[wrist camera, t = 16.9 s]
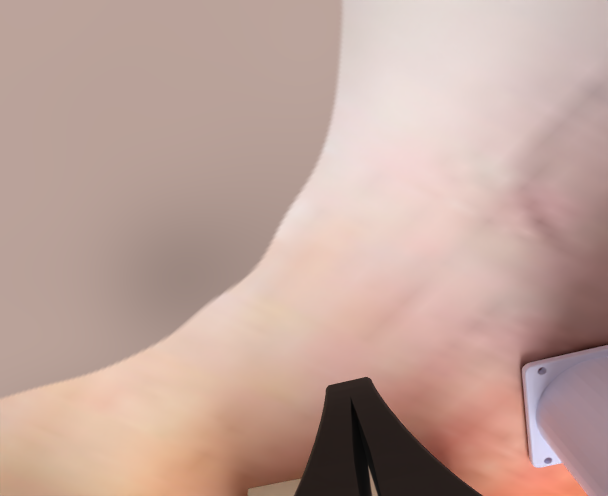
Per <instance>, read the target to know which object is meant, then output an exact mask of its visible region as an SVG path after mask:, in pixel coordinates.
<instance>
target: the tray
mask: <svg viewBox="0 0 608 496" xmlns="http://www.w3.org/2000/svg"><path fill="white" fill-rule="evenodd" d="M368 468H369V466H368ZM369 475H370V483H371V491H372V496H378V495H377V491H376V488H375V485H374V482H373V479H372V476H371V473H370V470H369ZM300 481H301V479H295V480H290V481H285V482H280V483H275V484H270V485H265V486H260V487H255V488H249V489H248V495H247V496H294V494H295V492H296V490H297V487H298V485H299V483H300Z"/></svg>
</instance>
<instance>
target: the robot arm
mask: <svg viewBox="0 0 608 496" xmlns="http://www.w3.org/2000/svg"><path fill="white" fill-rule="evenodd" d="M541 367H542V369H541V370H539V368H541ZM538 370H539V371H538ZM522 378H523V390H524V401H525V413H526V424H527V436H528V447H529V459H530V462H531V463H532V465H533V466H534V467H537V468H540V467H545V466H550V465H555V464H560V463H563V464H564V466H565V467H566V468H567V469H568V471H569V472H570V473H571V475H572V476H573V477H574V478H575V480H576V481H577V482H578V483H579V485H580V486H581V487H582V488H583V490H584V491H585V492H586V494H587V495H588V496H608V345H605V346H601V347H596V348H592V349H587V350H583V351H578V352H574V353H570V354H565V355H561V356H556V357H552V358H547V359H543V360H538V361H534V362H530V363H527V364H526V365H524V366H523V368H522ZM368 466H369V468H368ZM369 470H370V473H371V476H372V479H373V482H374V485H375V488H376V491H377V495H378V496H482V495H481V494H479V493H478V492H477V491H475V490H474V489H473V488H471V487H470V486H469V485H467V484H466V483H465V482H463V481H462V480H461V479H459V478H458V477H457V476H456V475H455V474H453V473H452V472H451V471H450V470H449V469H448V468H446V467H445V466H444V465H443V464H442V463H441V462H440V461H438V460H437V459H436V458H435V457H434V456H433V455H432V454H431V453H430V452H429V451H428V450H427V449H426V448H425V447H424V446H423V445H421V444H420V443H419V441H418V440H417V439H416V438H415V437H414V436H413V435H412V434H411V433H410V432H409V431H408V430H407V429H406V428H405V426H404V425H403V424H402V423H401V422H400V421H399V419H398V418H397V417H396V416H395V415H394V413H393V412H392V411H391V410H390V408H389V407H388V406H387V404H386V403H385V402H384V400H383V399H382V397H381V396H380V394H379V393H378V391H377V390H376V388H375V386H374V385H373V383H372V380H371V379H370V378H368V377H364V378H360V379H355V380H351V381H346V382H342V383H338V384H333V385H329V386H328V387H327V389H326V395H325V402H324V408H323V413H322V417H321V421H320V425H319V429H318V432H317V436H316V439H315V443H314V446H313V449H312V451H311V454H310V457H309V460H308V463H307V466H306V468H305V471H304V473H303V476H302V478H301V481H300V483H299V485H298V487H297V490H296V492H295V494H294V496H372V491H371V483H370V475H369Z"/></svg>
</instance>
